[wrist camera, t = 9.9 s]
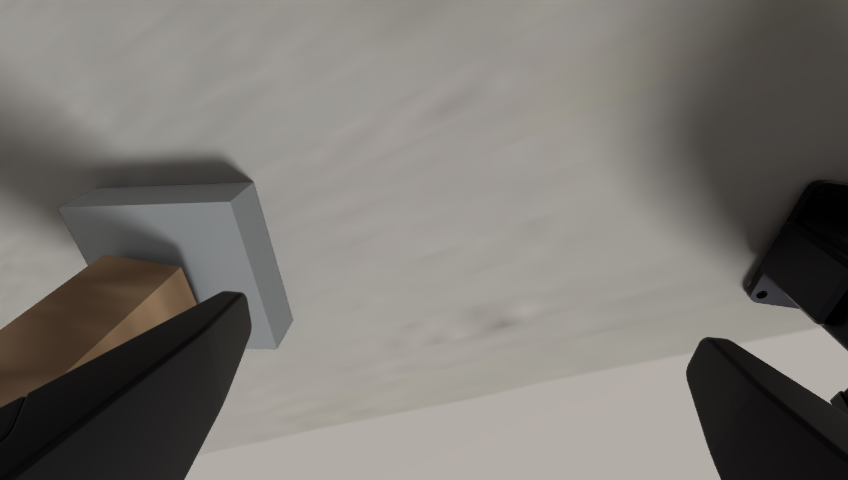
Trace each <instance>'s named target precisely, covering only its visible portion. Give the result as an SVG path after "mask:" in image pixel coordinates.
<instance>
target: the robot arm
mask: <svg viewBox="0 0 848 480" xmlns="http://www.w3.org/2000/svg"><path fill="white" fill-rule="evenodd" d="M822 189H824V190H823V192H822V193H821V194H819V195H817V193H818V192H819V191H820V190H822ZM760 291H762V292H761V293H759V294H757V293H758V292H760ZM746 292H747V295H748V296H749V297H750V298H751V300H753V301H754V302H757V303H763V304H770V305H777V306H784V307H791V308H798V309H801V310H802V311H803V312H804V313H805V314H806V315H807V316H808V317H809V318H810V319H811V320H812V321H813V322H814V323H816V324H819V325H821V326H822V327H823V328H824V329H825V330H826V331H827V332H828V333H829V334H830V335H831V336H832V337H833V338H835V340H837V341H838V342H839V343H840V344H841V345H842V346H843V347H844V348H845V349H846V350H847V351H848V183H844V182H837V181H829V180H817V181H814V182H812V183H811V184H809V185H808V187H807V188H806V189H805V191H804V192H803V194H802V196H801V198H800V199H799V201H798V203H797V204H796V206H795V208H794V210H793V211H792V213H791V215H790V216H789V218H788V220H787V222H786V223H785V225H784V227H783V228H782V230H781V232H780V234H779V235H778V237H777V239H776V240H775V242H774V244H773V246H772V247H771V249H770V251H769V252H768V254H767V256H766V258H765V259H764V261H763V263H762V264H761V266H760V268H759V270H758V271H757V273H756V275H755V276H754V278H753V280H752V282H751V283H750V285H749V287H748V288H747V291H746ZM251 329H252V323H251V317H250V312H249V306H248V300H247V297H246V295H245V294H244V293H242V292H235V291H222V292H220V293H218V294H216V295H214V296H212V297H210V298H208V299H207V300H205V301H203V302H201V303H199V304H197V305H195V306H193V307H191V308H189V309H187V310H186V311H184V312H182V313H180V314H178V315H176V316H174V317H172V318H170V319H168V320H166V321H165V322H163V323H161V324H159V325H157V326H155V327H153V328H151V329H149V330H147V331H145V332H144V333H142V334H140V335H138V336H136V337H134V338H132V339H130V340H128V341H126V342H124V343H123V344H121V345H119V346H117V347H115V348H113V349H111V350H109V351H107V352H105V353H103V354H101V355H100V356H98V357H96V358H94V359H92V360H90V361H88V362H86V363H84V364H82V365H80V366H79V367H77V368H75V369H73V370H71V371H69V372H67V373H65V374H63V375H61V376H59V377H57V378H56V379H54V380H52V381H50V382H48V383H46V384H44V385H42V386H40V387H38V388H36V389H34V390H33V391H31V392H29V393H28V394H27V395H26V397H24V396H21V397H19V398H17V399H15V400H13V401H11V402H10V403H8V404H6V405H4V406H2V407H0V480H184V479H185V477H186V475H187V473H188V472H189V470H190V468H191V466H192V464H193V462H194V460H195V458H196V456H197V454H198V452H199V450H200V448H201V447H202V445H203V443H204V441H205V439H206V437H207V435H208V433H209V431H210V429H211V427H212V425H213V423H214V422H215V420H216V418H217V416H218V414H219V412H220V410H221V408H222V406H223V404H224V401H225V399H226V396H227V394H228V392H229V389H230V386H231V384H232V381H233V379H234V376H235V374H236V371H237V368H238V366H239V363H240V361H241V358H242V356H243V353H244V350H245V348H246V345H247V343H248V340H249V337H250V335H251ZM686 376H687V382H688V385H689V388H690V391H691V394H692V398H693V401H694V404H695V407H696V410H697V413H698V417H699V420H700V423H701V426H702V429H703V432H704V436H705V439H706V442H707V445H708V448H709V451H710V454H711V456H712V459H713V461H714V464H715V466H716V469H717V471H718V474H719V476H720V478H721V480H848V388H847V389H846V390H845V391H844V392H843V391H840V392H839V393H837V394H836V395H835V396H834V397H833V398H832V399H831V400H830V402H831V404H832V405H831V404H830V403H828V402H826V401H825V400H823V399H822V398H820V397H819V396H817V395H815V394H814V393H812V392H811V391H809V390H808V389H806V388H804V387H802V386H801V385H800V384H798V383H797V382H795V381H793V380H792V379H790V378H789V377H787V376H785V375H784V374H782V373H781V372H779V371H777V370H776V369H775V368H773V367H771V366H770V365H768V364H767V363H765V362H763V361H762V360H760V359H759V358H757V357H756V356H754V355H752V354H751V353H749V352H748V351H746V350H745V349H743V348H741V347H740V346H738V345H737V344H735V343H734V342H732V341H730V340H728V339H724V338H713V337H706V338H703V339H702V340H701V341H700V343H699V345H698V347H697V349H696V350H695V352H694V354H693V357H692V358H691V360H690V362H689V364H688V367H687V371H686Z"/></svg>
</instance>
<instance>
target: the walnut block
mask: <svg viewBox="0 0 848 480" xmlns="http://www.w3.org/2000/svg"><path fill="white" fill-rule="evenodd" d="M195 305H197V304H196V301H195V299H194V297H193V294H192V292H191V289H190V287H189V285H188V282H187V280H186V278H185V275H184V273H183V270H182V268H181V267H178V266H172V265H166V264H160V263H154V262H148V261H142V260H135V259H129V258H123V257H117V256H111V255H105V254H104V255H103V256H101V257H100V258H99V259H97V260H96V261H94V262H93V263H92V264H90V265H89V266H88V267H86V268H85V269H83V270H82V271H81V272H79V273H78V274H77V275H75V276H74V277H72V278H71V279H70V280H68V281H67V282H66V283H64V284H63V285H61V286H60V287H59V288H57V289H56V290H55V291H53V292H52V293H50V294H49V295H48V296H46V297H45V298H44V299H42V300H41V301H39V302H38V303H37V304H35V305H34V306H33V307H31V308H30V309H28V310H27V311H26V312H24V313H23V314H22V315H20V316H19V317H18V318H16V319H15V320H13V321H12V322H11V323H9V324H8V325H7V326H5V327H4V328H2V329H1V330H0V407H2V406H4V405H6V404H8V403H10V402H11V401H13V400H15V399H17V398H19V397H21V396H24V397H26V395H27V394H28V393H29V392H31V391H33V390H34V389H36V388H38V387H40V386H42V385H44V384H46V383H48V382H50V381H52V380H54V379H56V378H57V377H59V376H61V375H63V374H65V373H67V372H69V371H71V370H73V369H75V368H77V367H79V366H80V365H82V364H84V363H86V362H88V361H90V360H92V359H94V358H96V357H98V356H100V355H101V354H103V353H105V352H107V351H109V350H111V349H113V348H115V347H117V346H119V345H121V344H123V343H124V342H126V341H128V340H130V339H132V338H134V337H136V336H138V335H140V334H142V333H144V332H145V331H147V330H149V329H151V328H153V327H155V326H157V325H159V324H161V323H163V322H165V321H166V320H168V319H170V318H172V317H174V316H176V315H178V314H180V313H182V312H184V311H186V310H187V309H189V308H191V307H193V306H195Z"/></svg>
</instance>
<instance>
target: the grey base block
mask: <svg viewBox="0 0 848 480" xmlns="http://www.w3.org/2000/svg"><path fill="white" fill-rule="evenodd" d="M58 210H59V212H60V214H61V216H62V218H63V220H64V221H65V223H66V225H67V227H68V229H69V231H70V233H71V235H72V237H73V238H74V240H75V242H76V244H77V246H78V248H79V250H80V252H81V254H82V255H83V257H84V259H85V261H86V263H87V265H88V266H89V265H90V264H92V263H93V262H94V261H96V260H97V259H99V258H100V257H101V256H103V255H104V254H105V255H111V256H117V257H123V258H129V259H135V260H142V261H148V262H154V263H160V264H166V265H172V266H178V267H181V268H182V270H183V273H184V275H185V278H186V280H187V282H188V285H189V287H190V289H191V292H192V294H193V297H194V299H195V301H196V304H199V303H201V302H203V301H205V300H207V299H208V298H210V297H212V296H214V295H216V294H218V293H220V292H222V291H235V292H242V293H244V294H245V295H246V297H247V300H248V306H249V312H250V317H251V323H252V329H251V335H250V337H249V340H248V343H247V345H246V348H245V349H277V348H278V346H279V345H280V343H281V341H282V339H283V338H284V336H285V334H286V332H287V330H288V329H289V327H290V325H291V323H292V322H293V318H292V314H291V311H290V307H289V304H288V300H287V297H286V293H285V290H284V286H283V282H282V279H281V275H280V272H279V268H278V265H277V261H276V258H275V254H274V251H273V247H272V244H271V240H270V237H269V233H268V230H267V226H266V223H265V219H264V216H263V212H262V209H261V205H260V202H259V198H258V195H257V191H256V188H255V184H254V182H240V183H215V184H190V185H165V186H140V187H115V188H96V189H94V190H92V191H90V192H88V193H86V194H84V195H82V196H80V197H78V198H76V199H74V200H72V201H70V202H68V203H66V204H64V205H62V206H60V207H58Z"/></svg>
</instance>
